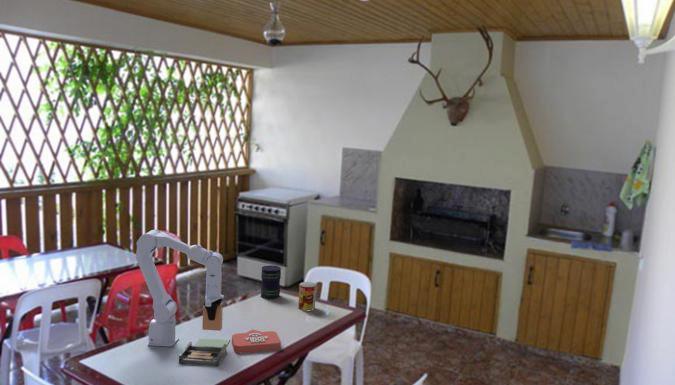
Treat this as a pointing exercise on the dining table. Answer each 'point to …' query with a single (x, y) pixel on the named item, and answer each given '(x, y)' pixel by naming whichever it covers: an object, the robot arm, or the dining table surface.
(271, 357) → the dining table surface
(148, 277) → the robot arm
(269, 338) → the red flat case
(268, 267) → the storage jar
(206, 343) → the mat
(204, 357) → the block
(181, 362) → the rack
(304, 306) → the canned food
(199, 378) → the dining table surface
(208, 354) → the offcut short
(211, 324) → the tall orange plank
